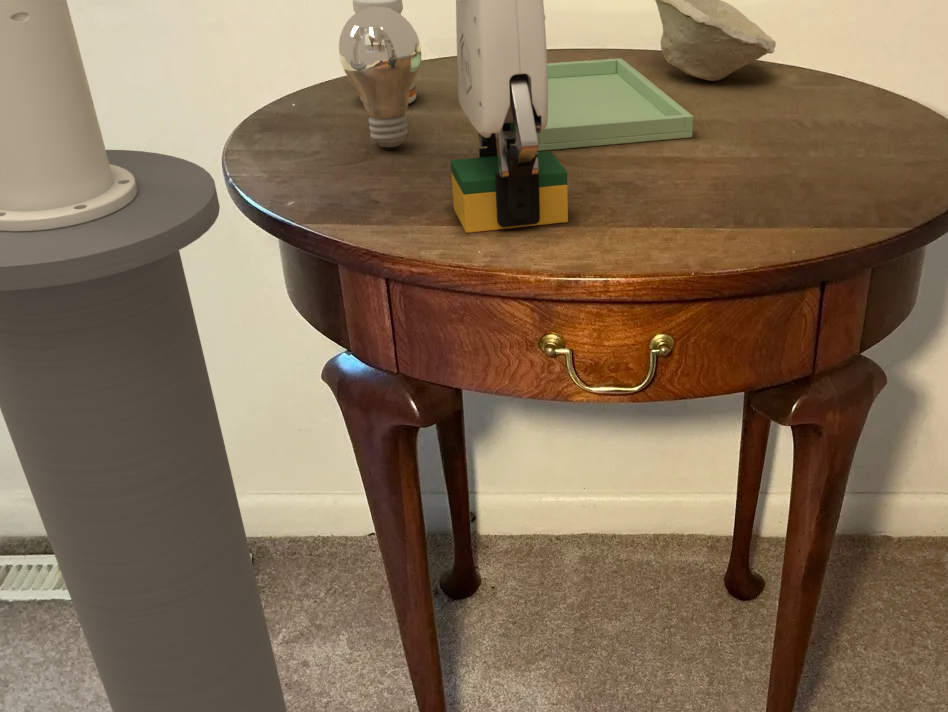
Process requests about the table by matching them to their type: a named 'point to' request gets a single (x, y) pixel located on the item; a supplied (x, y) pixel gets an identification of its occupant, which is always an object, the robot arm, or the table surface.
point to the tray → (607, 107)
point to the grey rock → (709, 37)
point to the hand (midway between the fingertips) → (510, 207)
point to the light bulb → (381, 69)
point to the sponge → (479, 192)
